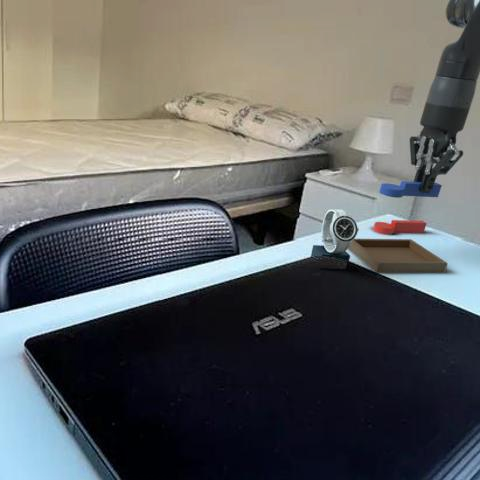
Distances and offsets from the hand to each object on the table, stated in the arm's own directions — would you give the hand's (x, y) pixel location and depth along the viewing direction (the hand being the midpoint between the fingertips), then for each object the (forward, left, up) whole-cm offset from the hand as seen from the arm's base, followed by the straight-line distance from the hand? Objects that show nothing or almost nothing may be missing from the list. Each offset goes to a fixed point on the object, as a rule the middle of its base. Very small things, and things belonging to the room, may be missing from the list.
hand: (421, 190), depth 101 cm
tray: (+5, +5, -13) cm, 15 cm away
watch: (+21, +7, -14) cm, 26 cm away
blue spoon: (+3, 0, -1) cm, 3 cm away
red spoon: (-5, -10, -13) cm, 18 cm away
